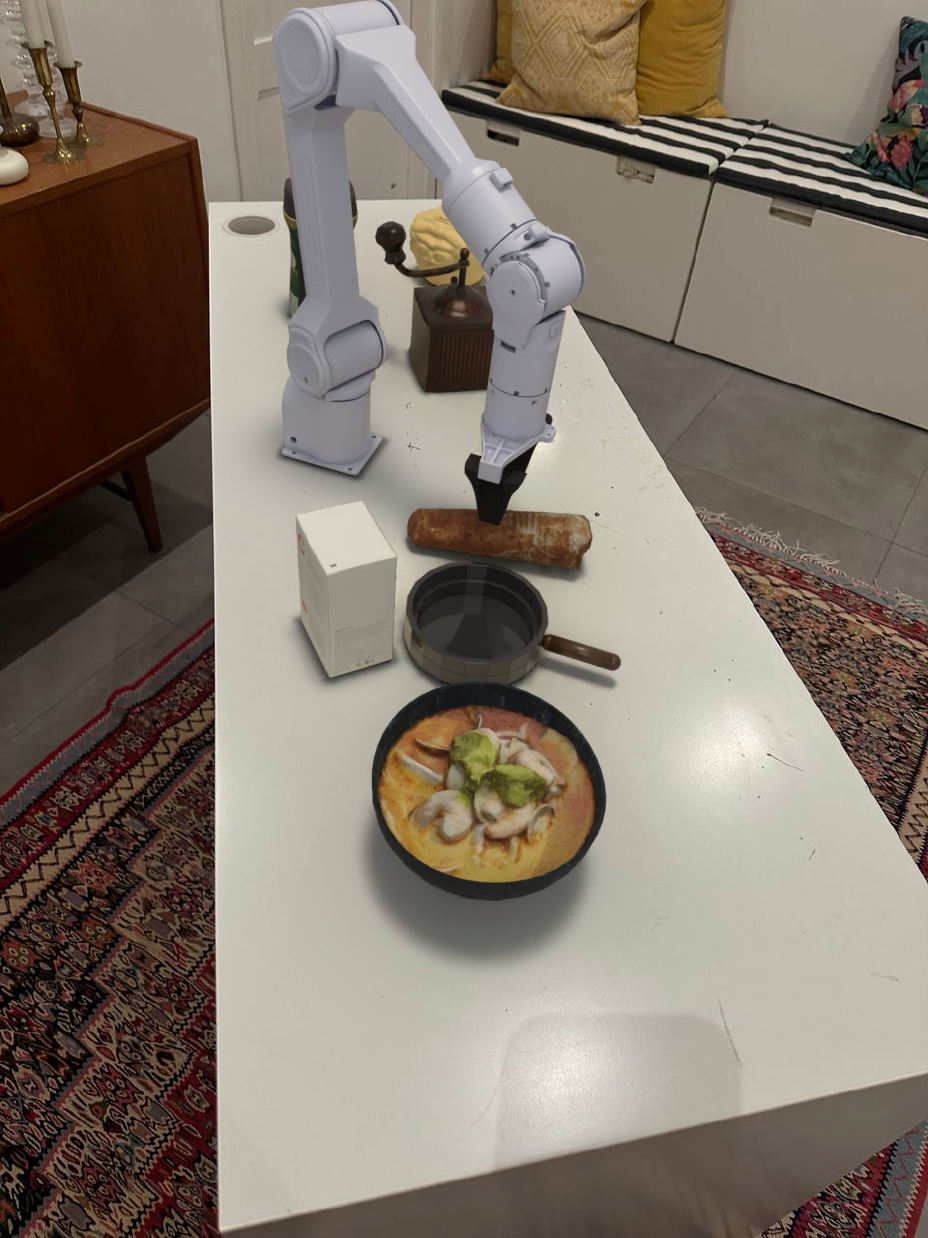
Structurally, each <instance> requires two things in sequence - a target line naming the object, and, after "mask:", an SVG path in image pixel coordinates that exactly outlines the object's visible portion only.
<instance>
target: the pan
mask: <svg viewBox="0 0 928 1238" xmlns="http://www.w3.org/2000/svg"><path fill="white" fill-rule="evenodd" d="M546 603H547V602H545V600H544V598H543V596H542V594H541V591H539V590H538V588H536V587H535V585H533V584H532V582H531V581H530V580H528V579H527V578H526V577H525V576H523V575H521V574H519V573H518V572H516V571H514V570H513V569H511V568H508V567H507V566H506V567H505V566H502V565H499V564H496V563H492V562H490V561H489V562H488V561H479V560H478V561H477V560H461V561H455V562H453V561H452V562H446V563H444V564H442V565H439V566H437V567H434V568H432V569H430V570H427V572H425V573H424V574H423V575H422V576H421V577H419V578H418V579H416V580H415V581H414V584H413V585H412V587H411V589H410V590H409V592H408V595H407V597H406V605H405V617H404V618H405V620H404V633H403V637H404V641H405V644H406V647H407V650H408V653H409V654H410V656H411V657H412V658H413V659H414V661H415V662H416V663H417V664H418V666H419V667H420V668H421V669H422V670H424V671H425V672H426V673H428V674H429V675H431V676H432V677H434V678H436V679H438V680H439V681H441V682H443V683H447V684H449V685H451V684H456V683H462V682H471V681H482V682H494V683H501V684H505V685H509V684H511V683H513V682H515V681H517V680H519V679H521V678H523V677H525V676H526V675H527V674H528V673H529V672H530V671H531V669H533V668H534V667H535V665H536V664H537V663H538V661H539V659H540V656H541V653H542V650H543V647H542V642H543V639H544V636H545V635H546V634H547V631H548V628H549V627H548V626H549V612H548V605H547V604H546Z"/></svg>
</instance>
